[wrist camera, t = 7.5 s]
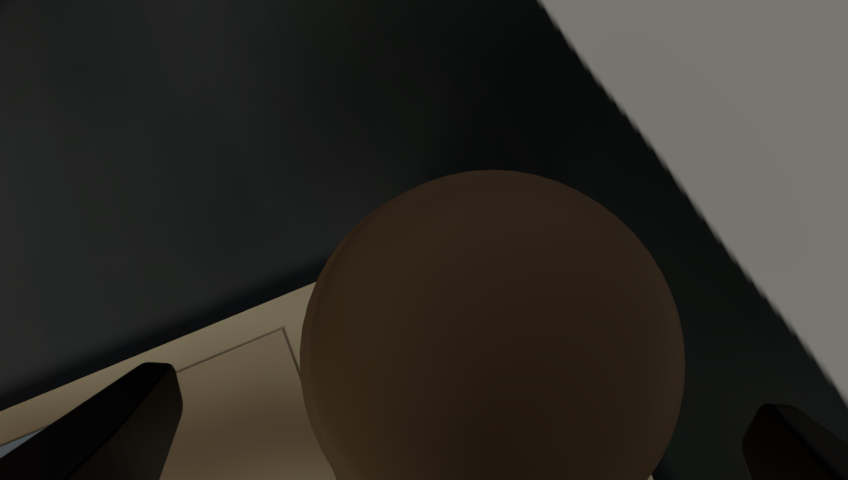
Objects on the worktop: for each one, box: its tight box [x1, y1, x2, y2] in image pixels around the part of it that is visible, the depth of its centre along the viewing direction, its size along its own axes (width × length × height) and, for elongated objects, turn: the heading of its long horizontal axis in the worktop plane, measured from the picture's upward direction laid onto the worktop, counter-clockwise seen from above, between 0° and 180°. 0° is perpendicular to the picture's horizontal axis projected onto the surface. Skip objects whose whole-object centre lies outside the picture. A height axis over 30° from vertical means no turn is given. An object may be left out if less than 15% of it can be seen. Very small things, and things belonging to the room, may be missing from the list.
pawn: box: [300, 170, 685, 480], centre depth 10 cm, size 5×5×12 cm
